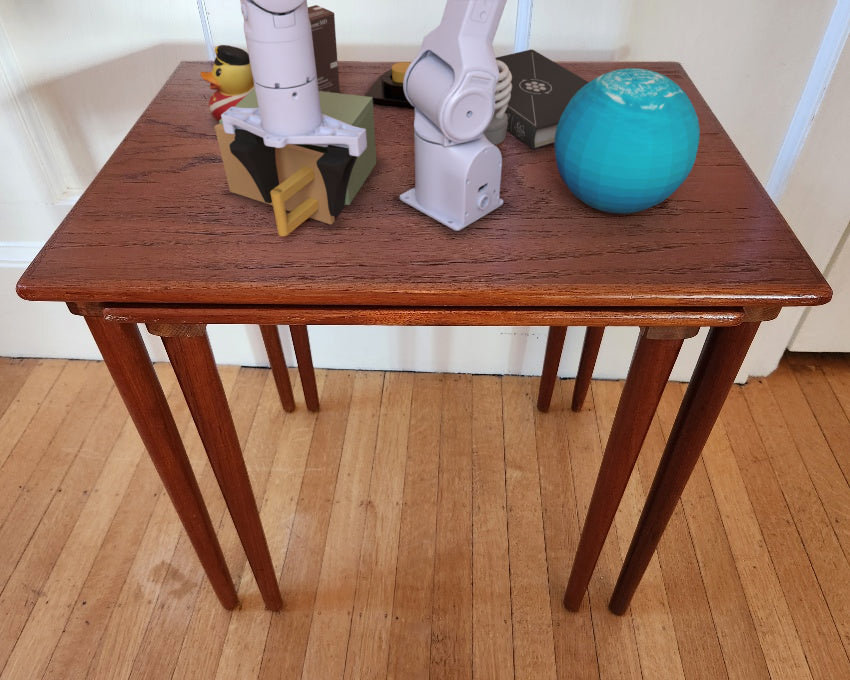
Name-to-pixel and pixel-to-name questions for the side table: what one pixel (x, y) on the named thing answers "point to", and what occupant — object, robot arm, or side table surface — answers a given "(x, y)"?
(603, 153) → the decorative orb
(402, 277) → the side table surface
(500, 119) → the light bulb
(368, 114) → the cupboard
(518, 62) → the book
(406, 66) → the button
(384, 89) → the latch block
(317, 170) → the cupboard door
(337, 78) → the box
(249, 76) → the toy
